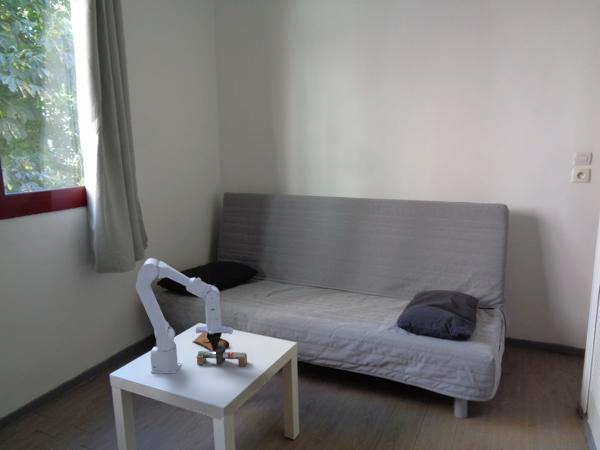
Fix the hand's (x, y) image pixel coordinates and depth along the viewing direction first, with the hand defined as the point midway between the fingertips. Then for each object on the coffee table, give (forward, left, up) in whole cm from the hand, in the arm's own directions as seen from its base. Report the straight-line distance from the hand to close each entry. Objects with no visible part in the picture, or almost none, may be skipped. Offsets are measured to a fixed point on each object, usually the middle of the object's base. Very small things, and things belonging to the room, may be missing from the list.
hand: (215, 350), depth 180 cm
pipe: (+2, 0, -6) cm, 6 cm away
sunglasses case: (-9, +17, -6) cm, 20 cm away
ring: (+2, 0, -6) cm, 6 cm away
